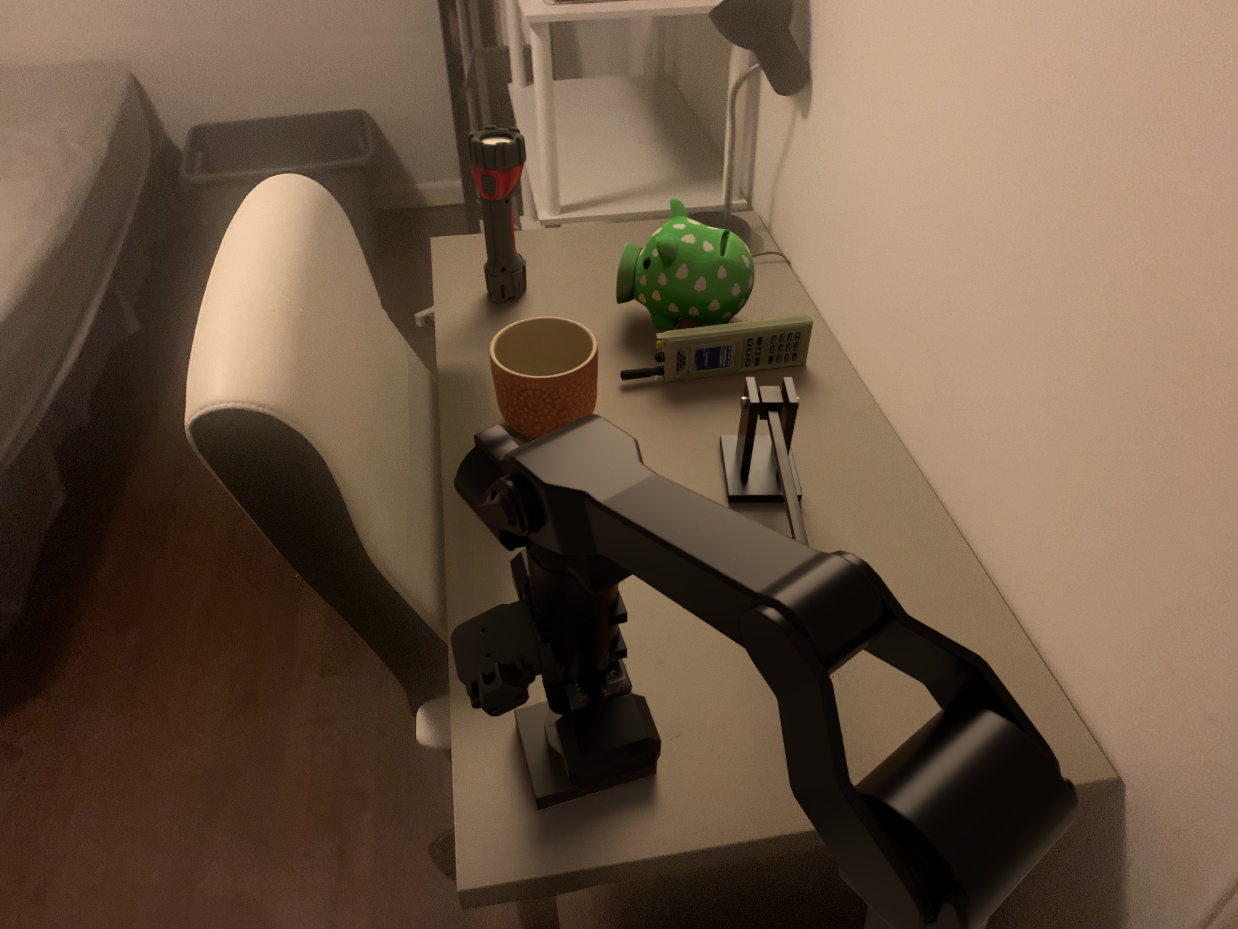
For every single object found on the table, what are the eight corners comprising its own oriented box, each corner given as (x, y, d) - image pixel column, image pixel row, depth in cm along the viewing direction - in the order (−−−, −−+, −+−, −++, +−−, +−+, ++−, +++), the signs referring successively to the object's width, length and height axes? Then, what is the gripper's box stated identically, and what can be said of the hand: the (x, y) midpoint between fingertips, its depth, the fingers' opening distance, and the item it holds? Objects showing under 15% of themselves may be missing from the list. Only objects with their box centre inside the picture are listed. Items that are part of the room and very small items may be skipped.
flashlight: (527, 270, 125) (513, 119, 109) (543, 294, 120) (532, 139, 104) (478, 280, 123) (458, 127, 107) (493, 305, 117) (474, 148, 102)
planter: (606, 447, 95) (605, 372, 87) (500, 458, 93) (490, 383, 86) (592, 384, 103) (590, 311, 96) (496, 393, 102) (486, 320, 95)
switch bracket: (800, 502, 88) (819, 420, 80) (727, 502, 88) (738, 420, 80) (786, 442, 95) (802, 361, 87) (719, 442, 95) (728, 361, 87)
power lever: (826, 600, 68) (833, 576, 66) (788, 600, 68) (794, 576, 66) (780, 406, 87) (784, 382, 85) (751, 406, 87) (754, 382, 85)
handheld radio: (808, 368, 106) (623, 391, 102) (799, 354, 108) (618, 377, 105) (816, 324, 102) (623, 347, 98) (806, 311, 104) (617, 333, 100)
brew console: (626, 691, 71) (626, 666, 68) (656, 774, 65) (658, 751, 63) (515, 723, 69) (511, 698, 66) (537, 811, 63) (533, 788, 61)
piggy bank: (632, 286, 121) (633, 190, 111) (752, 299, 118) (765, 202, 108) (612, 339, 111) (611, 239, 101) (743, 354, 108) (756, 253, 98)
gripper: (430, 513, 57) (460, 640, 68) (477, 749, 44) (505, 861, 55) (581, 480, 59) (587, 608, 70) (668, 694, 46) (659, 811, 57)
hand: (582, 710), depth 63 cm, fingers closed
